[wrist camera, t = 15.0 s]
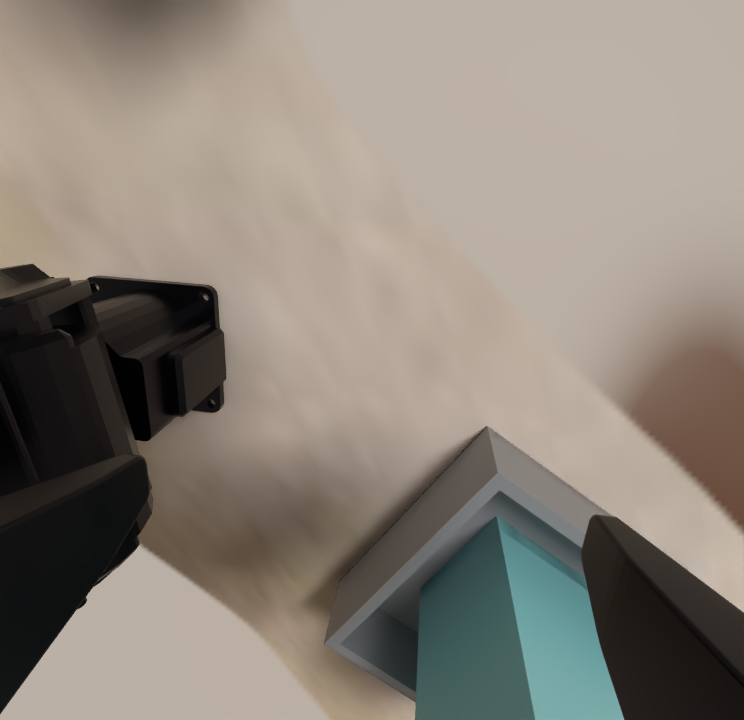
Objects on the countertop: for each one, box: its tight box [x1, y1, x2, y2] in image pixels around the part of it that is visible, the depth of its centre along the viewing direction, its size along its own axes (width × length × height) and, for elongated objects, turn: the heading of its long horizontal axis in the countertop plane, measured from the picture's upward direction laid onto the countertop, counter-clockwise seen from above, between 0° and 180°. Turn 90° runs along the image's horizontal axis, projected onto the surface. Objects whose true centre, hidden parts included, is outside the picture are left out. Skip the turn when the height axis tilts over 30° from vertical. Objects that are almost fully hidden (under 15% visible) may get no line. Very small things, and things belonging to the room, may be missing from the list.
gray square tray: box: [324, 426, 611, 702], centre depth 23 cm, size 13×13×4 cm
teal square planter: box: [415, 516, 624, 720], centre depth 19 cm, size 6×6×12 cm
